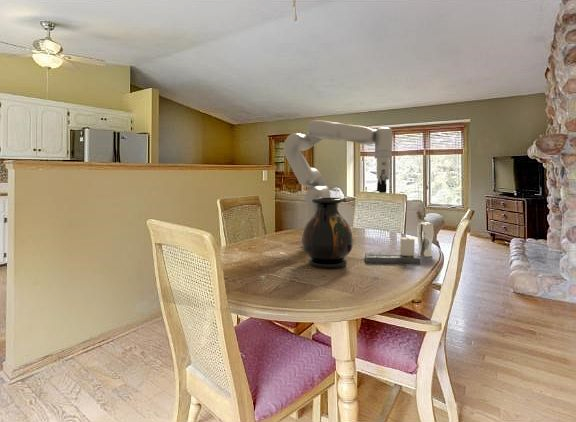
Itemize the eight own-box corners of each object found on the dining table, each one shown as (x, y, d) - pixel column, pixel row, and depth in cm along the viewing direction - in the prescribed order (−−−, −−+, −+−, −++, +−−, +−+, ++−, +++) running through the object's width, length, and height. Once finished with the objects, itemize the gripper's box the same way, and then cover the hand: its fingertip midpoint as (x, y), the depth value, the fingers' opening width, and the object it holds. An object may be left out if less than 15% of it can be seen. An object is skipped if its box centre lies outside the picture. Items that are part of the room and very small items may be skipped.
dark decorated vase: (348, 273, 136) (348, 201, 132) (295, 269, 143) (294, 200, 140) (357, 260, 156) (357, 196, 153) (310, 256, 163) (309, 196, 160)
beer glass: (434, 257, 157) (435, 224, 156) (417, 257, 159) (418, 224, 157) (431, 253, 164) (432, 222, 163) (415, 253, 166) (416, 221, 164)
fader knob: (402, 255, 150) (402, 239, 149) (400, 253, 154) (400, 237, 153) (414, 255, 149) (414, 239, 149) (412, 253, 153) (412, 237, 153)
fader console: (366, 263, 150) (366, 257, 150) (364, 258, 159) (364, 252, 159) (420, 264, 147) (420, 258, 147) (415, 258, 156) (415, 253, 156)
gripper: (393, 154, 154) (392, 193, 157) (388, 155, 171) (387, 190, 173) (376, 154, 156) (374, 193, 158) (373, 155, 172) (371, 190, 175)
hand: (381, 192), depth 166 cm, fingers open, 9 cm apart
